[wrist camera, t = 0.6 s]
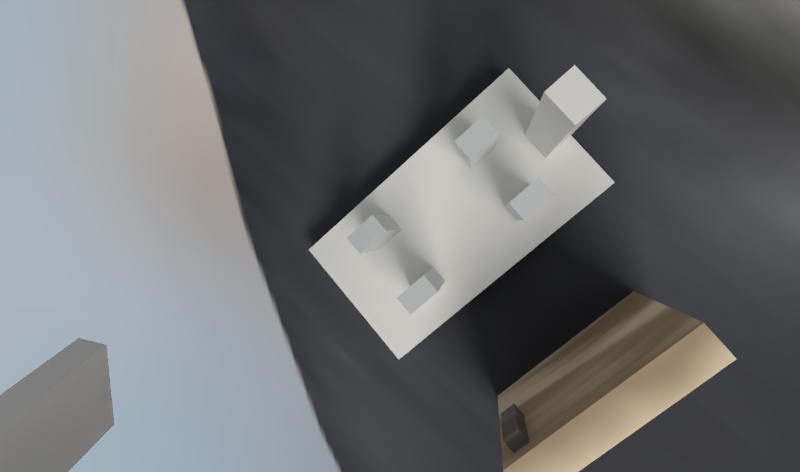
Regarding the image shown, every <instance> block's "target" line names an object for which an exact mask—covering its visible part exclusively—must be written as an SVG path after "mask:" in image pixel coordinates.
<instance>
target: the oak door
mask: <svg viewBox="0 0 800 472" xmlns="http://www.w3.org/2000/svg"><path fill="white" fill-rule="evenodd" d="M735 360H736V358H735V357H734V356H733V354H732V353H731V352H730V351H729V350H728V349H727V348H726V347H725V346H724V345H723V343H722V342H721V341H720V340H719V339H718V338H717V337H716V336H715V335H714V334H713V332H712V331H711V330H710V329H709V328H708V327H707V326H706V325H705V324H704V323H703V322H701V321H699V320H696V319H694V318H692V317H690V316H688V315H685V314H683V313H681V312H679V311H677V310H674V309H672V308H670V307H668V306H666V305H664V304H661V303H659V302H657V301H655V300H653V299H650V298H648V297H646V296H644V295H642V294H639V293H637V292H635V291H633V292H632V293H630V294H629V295H628V296H627V297H625V298H624V299H623V300H621V301H620V302H619V303H617V304H616V305H615V306H614V307H612V308H611V309H610V310H608V311H607V312H606V313H604V314H603V315H602V316H601V317H599V318H598V319H597V320H595V321H594V322H593V323H591V324H590V325H589V326H588V327H586V328H585V329H584V330H582V331H581V332H580V333H578V334H577V335H576V336H575V337H573V338H572V339H571V340H569V341H568V342H567V343H565V344H564V345H563V346H562V347H560V348H559V349H558V350H556V351H555V352H554V353H552V354H551V355H550V356H549V357H547V358H546V359H545V360H543V361H542V362H541V363H539V364H538V365H537V366H536V367H534V368H533V369H532V370H530V371H529V372H528V373H526V374H525V375H524V376H523V377H521V378H520V379H519V380H517V381H516V382H515V383H513V384H512V385H511V386H510V387H508V388H507V389H506V390H504V391H503V392H502V393H500V394H499V395H498V409H499V423H500V437H501V450H502V464H503V471H504V472H579V471H580V470H581V469H583V468H584V467H586V466H587V465H588V464H590V463H591V462H593V461H594V460H596V459H597V458H598V457H600V456H601V455H603V454H604V453H605V452H607V451H608V450H610V449H611V448H612V447H614V446H615V445H617V444H618V443H619V442H621V441H622V440H624V439H625V438H626V437H628V436H629V435H631V434H632V433H633V432H635V431H636V430H638V429H639V428H640V427H642V426H643V425H645V424H646V423H648V422H649V421H650V420H652V419H653V418H655V417H656V416H657V415H659V414H660V413H662V412H663V411H664V410H666V409H667V408H669V407H670V406H671V405H673V404H674V403H676V402H677V401H678V400H680V399H681V398H683V397H684V396H685V395H687V394H688V393H690V392H691V391H692V390H694V389H695V388H697V387H698V386H699V385H701V384H702V383H704V382H705V381H707V380H708V379H709V378H711V377H712V376H714V375H715V374H716V373H718V372H719V371H721V370H722V369H723V368H725V367H726V366H728V365H729V364H730V363H732V362H733V361H735Z"/></svg>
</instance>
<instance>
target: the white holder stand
mask: <svg viewBox="0 0 800 472" xmlns="http://www.w3.org/2000/svg"><path fill="white" fill-rule="evenodd" d="M605 100H606V98H605V96H604V95H603V94H602V93H601V92H600V91H599V90H598V89H597V88H596V87H595V86H594V85H593V84H592V83H591V82H590V81H589V80H588V78H587V77H586V76H585V75H584V74H583V73H582V72H581V71H580V70H579V69H578V68H577V67H576V66H575V65H574V66H573V67H572V68H571V69H570V70H568V71H567V72H566V73H565V74H564V75H563V76H562V77H561V78H559V79H558V80H557V81H556V82H555V83H554V84H553V85H552V86H550V87H549V88H548V89H547V90H546V91H545V92H544V94H543V96H542V98H541V100H540V101H539V100H538V99H537V98H536V97H535V96H534V95H533V94H532V92H531V91H530V90H529V89H528V88H527V87H526V86H525V85H524V84H523V83H522V82H521V81H520V79H519V78H518V77H517V76H516V75H515V74H514V73H513V72H512V71H511V70H510V69H509V68H508V69H507V70H506V71H505V72H504V73H503V74H502V75H501V76H499V77H498V78H497V79H496V80H495V81H494V82H493V83H492V84H491V85H490V86H488V87H487V88H486V89H485V90H484V91H483V92H482V93H481V94H480V95H479V96H477V97H476V98H475V99H474V100H473V101H472V102H471V103H470V104H469V105H467V106H466V107H465V108H464V109H463V110H462V111H461V112H460V113H459V114H458V115H456V116H455V117H454V118H453V119H452V120H451V121H450V122H449V123H448V124H447V125H445V126H444V127H443V128H442V129H441V130H440V131H439V132H438V133H437V134H436V135H434V136H433V137H432V138H431V139H430V140H429V141H428V142H427V143H426V144H425V145H423V146H422V147H421V148H420V149H419V150H418V151H417V152H416V153H415V154H413V155H412V156H411V157H410V158H409V159H408V160H407V161H406V162H405V163H404V164H402V165H401V166H400V167H399V168H398V169H397V170H396V171H395V172H394V173H393V174H391V175H390V176H389V177H388V178H387V179H386V180H385V181H384V182H383V183H382V184H380V185H379V186H378V187H377V188H376V189H375V190H374V191H373V192H372V193H371V194H369V195H368V196H367V197H366V198H365V199H364V200H363V201H362V202H361V203H360V204H358V205H357V206H356V207H355V208H354V209H353V210H352V211H351V212H350V213H348V214H347V215H346V216H345V217H344V218H343V219H342V220H341V221H340V222H339V223H337V224H336V225H335V226H334V227H333V228H332V229H331V230H330V231H329V232H328V233H326V234H325V235H324V236H323V237H322V238H321V239H320V240H319V241H318V242H317V243H315V244H314V245H313V246H312V247H311V248H310V249H309V251H310V252H311V253H312V254H313V256H314V257H315V258H316V259H317V260H318V262H319V263H320V264H321V265H322V267H323V268H324V269H325V270H326V271H327V273H328V274H329V275H330V276H331V278H332V279H333V280H334V281H335V282H336V284H337V285H338V286H339V287H340V289H341V290H342V291H343V292H344V293H345V295H346V296H347V297H348V298H349V299H350V301H351V302H352V303H353V304H354V306H355V307H356V308H357V309H358V310H359V312H360V313H361V314H362V315H363V317H364V318H365V319H366V320H367V321H368V323H369V324H370V325H371V326H372V328H373V329H374V330H375V331H376V332H377V334H378V335H379V336H380V337H381V339H382V340H383V341H384V342H385V343H386V345H387V346H388V347H389V348H390V349H391V351H392V352H393V353H394V354H395V356H396V357H397V358H398V359H400V358H401V357H403V356H404V355H405V354H406V353H408V352H409V351H410V350H411V349H412V348H414V347H415V346H416V345H417V344H418V343H420V342H421V341H422V340H423V339H425V338H426V337H427V336H428V335H429V334H431V333H432V332H433V331H434V330H436V329H437V328H438V327H439V326H440V325H442V324H443V323H444V322H445V321H447V320H448V319H449V318H450V317H451V316H453V315H454V314H455V313H456V312H457V311H459V310H460V309H461V308H462V307H464V306H465V305H466V304H467V303H468V302H470V301H471V300H472V299H473V298H475V297H476V296H477V295H478V294H479V293H481V292H482V291H483V290H484V289H486V288H487V287H488V286H489V285H490V284H492V283H493V282H494V281H495V280H496V279H498V278H499V277H500V276H501V275H503V274H504V273H505V272H506V271H507V270H509V269H510V268H511V267H512V266H514V265H515V264H516V263H517V262H518V261H520V260H521V259H522V258H523V257H525V256H526V255H527V254H528V253H529V252H531V251H532V250H533V249H534V248H535V247H537V246H538V245H539V244H540V243H542V242H543V241H544V240H545V239H546V238H548V237H549V236H550V235H551V234H553V233H554V232H555V231H556V230H557V229H559V228H560V227H561V226H562V225H564V224H565V223H566V222H567V221H568V220H570V219H571V218H572V217H573V216H574V215H576V214H577V213H578V212H579V211H581V210H582V209H583V208H584V207H585V206H587V205H588V204H589V203H590V202H592V201H593V200H594V199H595V198H596V197H598V196H599V195H600V194H601V193H603V192H604V191H605V190H606V189H607V188H609V187H610V186H611V185H612V184H613V183H615V182H614V181H613V180H612V179H611V178H610V177H609V176H608V175H607V174H606V173H605V171H604V170H603V169H602V168H601V167H600V166H599V165H598V164H597V163H596V162H595V161H594V160H593V158H592V157H591V156H590V155H589V154H588V153H587V152H586V151H585V150H584V149H583V148H582V147H581V145H580V144H579V143H578V142H577V141H576V140H575V139H574V138H573V137H572V136H571V135H572V134H573V133H574V132H575V131H576V130H577V129H578V128H579V127H580V126H581V125H582V124H583V123H584V122H585V120H586V119H587V118H588V117H589V116H590V115H591V114H592V113H593V112H594V111H595V110H596V109H597V108H598V107H599V106H600V105H601V104H602V103H603V102H604V101H605Z"/></svg>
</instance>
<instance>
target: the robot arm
mask: <svg viewBox="0 0 800 472" xmlns="http://www.w3.org/2000/svg"><path fill="white" fill-rule="evenodd" d="M113 425H114V419H113V408H112V398H111V389H110V378H109V369H108V358H107V349H106V345H104V344H99V343H96V342H92V341H88V340H84V339H80V338H78V339H77V340H76V341H74V342H73V343H72V344H70V345H69V346H68V347H66V348H65V349H63V350H62V351H61V352H59V353H58V354H56V355H55V356H54V357H52V358H51V359H49V360H48V361H47V362H45V363H44V364H42V365H41V366H40V367H38V368H37V369H36V370H34V371H33V372H31V373H30V374H29V375H27V376H26V377H25V378H23V379H22V380H21V381H19V382H18V383H16V384H15V385H14V386H12V387H11V388H9V389H8V390H7V391H5V392H4V393H2V394H1V395H0V472H68V471H69V470H70V469H71V468H72V467H73V466H74V465H75V464H76V463H77V462H78V461H79V460H80V459H81V458H82V457H83V456H84V455H85V454H86V453H87V452H88V450H89V449H90V448H91V447H92V446H93V445H94V444H95V443H96V442H97V441H98V440H99V439H100V438H101V437H102V436H103V435H104V434H105V433H106V432H107V431H108V430H109V429H110V428H111V427H112V426H113Z"/></svg>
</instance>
